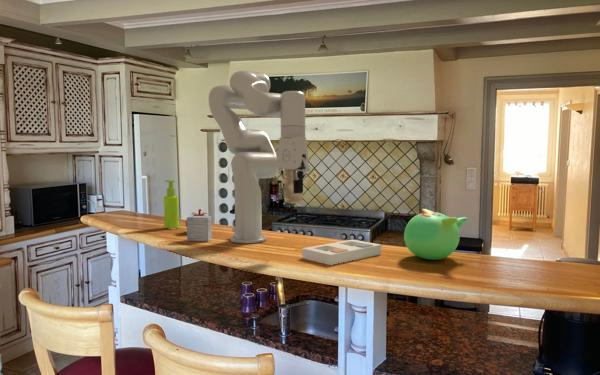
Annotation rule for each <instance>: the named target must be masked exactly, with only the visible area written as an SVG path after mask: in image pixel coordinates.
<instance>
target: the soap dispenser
mask: <svg viewBox="0 0 600 375" xmlns="http://www.w3.org/2000/svg"><path fill="white" fill-rule="evenodd" d="M163 182H164V183H168V187H167V188H166V196H163V216H164V220H163V222H164V229H165V228H177V229H180V211H179V209H180V206H179V202H180V201H179V199H180V198H179V196H178V195H176V188H175V187H174V183H175V180H173V179H167V180H164V181H163Z"/></svg>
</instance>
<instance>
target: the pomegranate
mask: <svg viewBox="0 0 600 375" xmlns="http://www.w3.org/2000/svg"><path fill="white" fill-rule="evenodd" d="M201 212H202V209H201V208H200V209H198V214H197V213H196V211H195V212H192V213H191V214H190V216H206V215H207V214H208V213H207V212H202V213H201ZM184 223H185V227H186V228H187V219H186V220H185V222H184ZM211 226H212V223H211Z"/></svg>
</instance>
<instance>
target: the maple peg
mask: <svg viewBox="0 0 600 375" xmlns="http://www.w3.org/2000/svg"><path fill="white" fill-rule="evenodd" d="M298 169H300V168H298ZM299 173H300V172H298V174H299ZM294 180H295V174H294V170H284V179H283V192H284V194H283V195H284V198H283V199H284V201H283V202H284V203H285V204H290V205H291V204H293V205H294V204H303V203H304V202H303V201H304V197H303V195H304V194H303V193H294Z"/></svg>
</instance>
